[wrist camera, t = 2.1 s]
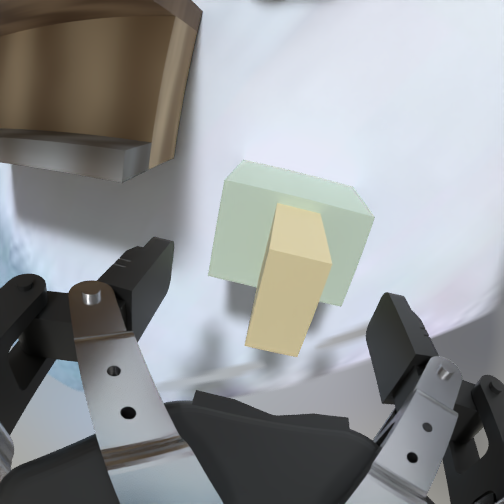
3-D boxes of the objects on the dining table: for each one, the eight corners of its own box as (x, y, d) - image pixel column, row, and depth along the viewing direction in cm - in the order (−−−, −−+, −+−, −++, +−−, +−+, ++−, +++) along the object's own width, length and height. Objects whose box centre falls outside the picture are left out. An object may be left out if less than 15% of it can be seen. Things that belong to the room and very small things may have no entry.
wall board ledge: (202, 11, 16) (69, -95, 3) (173, 157, 20) (15, 244, 7) (24, 25, 16) (-112, 24, 3) (10, 137, 20) (-123, 186, 8)
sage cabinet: (352, 186, 19) (408, 268, 10) (330, 256, 22) (353, 376, 12) (243, 159, 20) (191, 215, 10) (229, 232, 22) (178, 338, 12)
